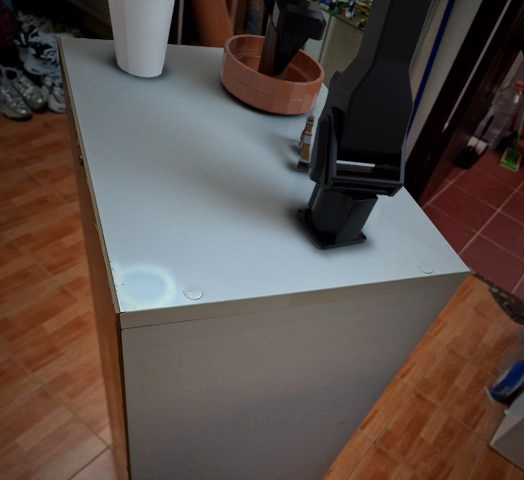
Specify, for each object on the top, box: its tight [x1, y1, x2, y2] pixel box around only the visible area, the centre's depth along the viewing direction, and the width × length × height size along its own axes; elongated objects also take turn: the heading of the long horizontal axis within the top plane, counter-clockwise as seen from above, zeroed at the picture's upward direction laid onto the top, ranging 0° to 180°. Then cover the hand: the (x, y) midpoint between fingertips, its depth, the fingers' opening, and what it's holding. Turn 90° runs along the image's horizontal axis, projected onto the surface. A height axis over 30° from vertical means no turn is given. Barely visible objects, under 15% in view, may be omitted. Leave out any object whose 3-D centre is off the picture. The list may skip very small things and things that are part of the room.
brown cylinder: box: [257, 14, 290, 81], centre depth 64 cm, size 4×4×9 cm
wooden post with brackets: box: [295, 112, 316, 173], centre depth 58 cm, size 2×8×4 cm, turn 177°
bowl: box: [219, 34, 326, 115], centre depth 66 cm, size 15×15×5 cm
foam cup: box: [107, 0, 176, 78], centre depth 58 cm, size 10×9×13 cm
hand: (273, 67), depth 65 cm, fingers closed on brown cylinder, 4 cm apart
